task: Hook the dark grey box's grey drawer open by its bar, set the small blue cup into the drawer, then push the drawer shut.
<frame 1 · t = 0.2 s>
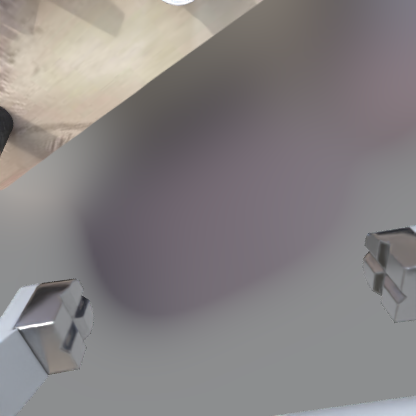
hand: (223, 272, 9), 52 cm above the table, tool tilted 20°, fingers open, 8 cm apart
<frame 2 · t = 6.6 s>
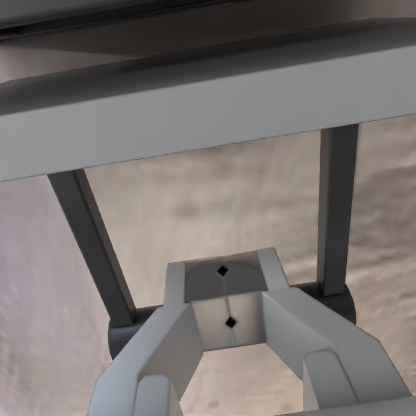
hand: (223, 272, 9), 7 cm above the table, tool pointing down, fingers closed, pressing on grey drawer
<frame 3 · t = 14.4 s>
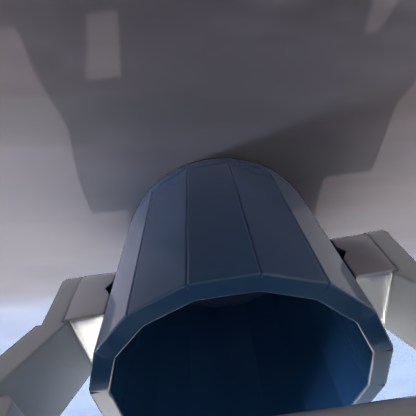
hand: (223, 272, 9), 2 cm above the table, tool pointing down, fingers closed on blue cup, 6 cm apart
blue cup: (220, 240, 11), on the table, touching gripper
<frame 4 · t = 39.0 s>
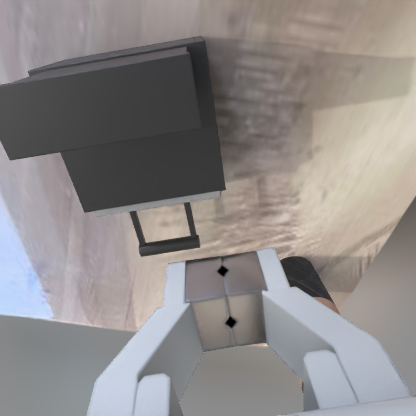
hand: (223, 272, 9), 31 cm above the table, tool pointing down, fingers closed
dark grey box: (147, 112, 37), on the table
grey drawer: (154, 168, 36), point 5 cm above the table, slide at 0.0 cm, touching blue cup
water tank: (122, 83, 27), resting on dark grey box
travel mug: (290, 273, 51), on the table
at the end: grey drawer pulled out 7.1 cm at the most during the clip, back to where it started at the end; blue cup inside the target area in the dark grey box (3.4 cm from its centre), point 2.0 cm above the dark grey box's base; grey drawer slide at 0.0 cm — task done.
